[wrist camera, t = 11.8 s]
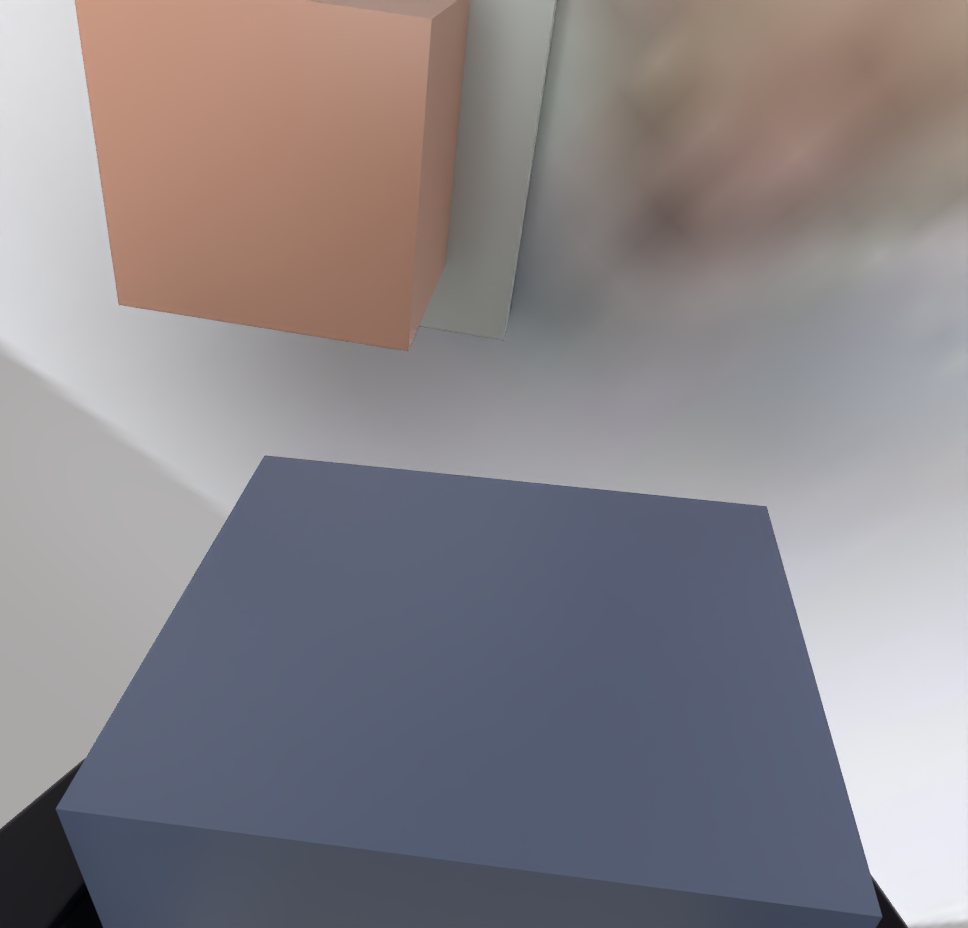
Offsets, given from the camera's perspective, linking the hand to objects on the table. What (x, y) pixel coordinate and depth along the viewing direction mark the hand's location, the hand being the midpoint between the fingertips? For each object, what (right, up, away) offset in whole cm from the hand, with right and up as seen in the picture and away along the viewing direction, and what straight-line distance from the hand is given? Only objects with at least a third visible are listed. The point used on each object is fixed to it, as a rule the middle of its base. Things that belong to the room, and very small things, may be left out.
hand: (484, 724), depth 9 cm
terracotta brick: (-3, +9, +7) cm, 12 cm away
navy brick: (0, 0, +1) cm, 1 cm away
